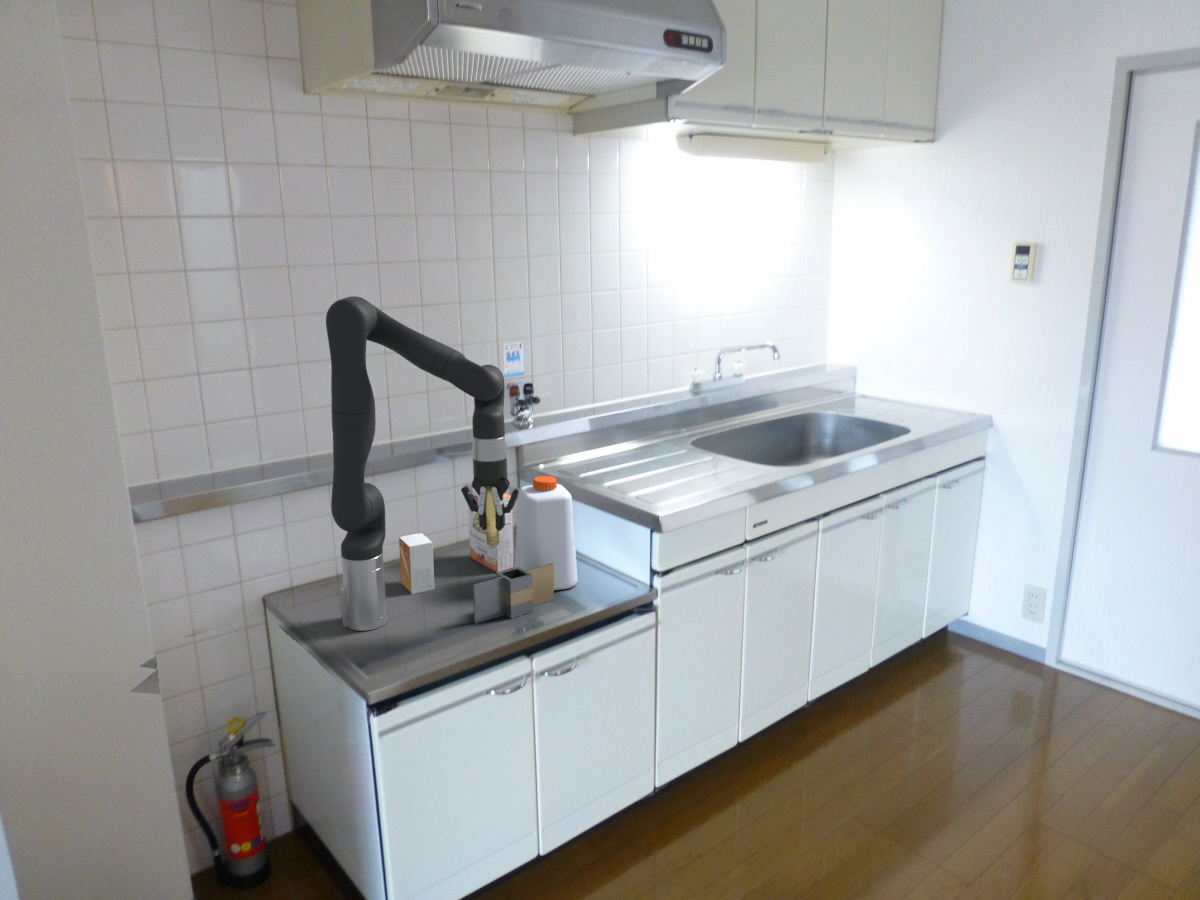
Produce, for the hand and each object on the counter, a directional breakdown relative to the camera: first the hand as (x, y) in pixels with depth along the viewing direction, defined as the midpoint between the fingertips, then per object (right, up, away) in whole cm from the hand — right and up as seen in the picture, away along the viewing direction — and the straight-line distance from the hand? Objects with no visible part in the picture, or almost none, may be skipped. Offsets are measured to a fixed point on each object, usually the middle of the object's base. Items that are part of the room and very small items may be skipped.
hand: (492, 528), depth 197 cm
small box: (-23, -18, +27) cm, 39 cm away
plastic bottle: (+10, -17, +31) cm, 36 cm away
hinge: (+4, -21, +13) cm, 25 cm away
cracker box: (-6, -14, +42) cm, 45 cm away
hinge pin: (0, -3, +1) cm, 3 cm away
